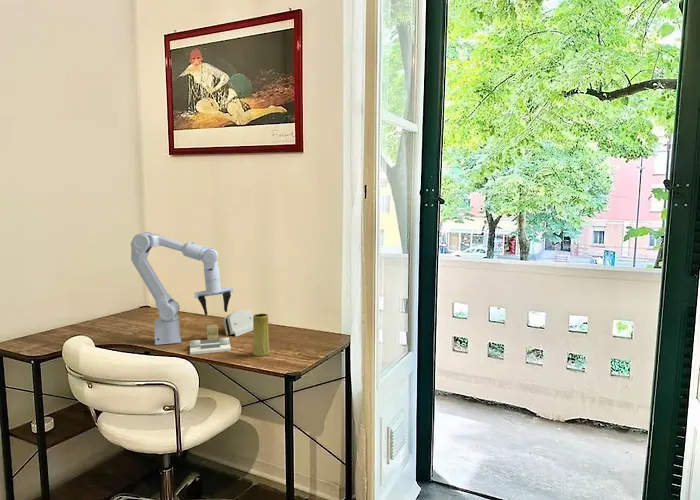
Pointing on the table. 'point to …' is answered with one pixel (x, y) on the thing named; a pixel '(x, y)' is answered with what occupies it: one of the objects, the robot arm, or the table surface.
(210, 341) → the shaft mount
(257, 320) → the vase
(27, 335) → the table surface
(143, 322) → the table surface
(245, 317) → the hinge
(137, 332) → the table surface
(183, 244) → the robot arm
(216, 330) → the coupler
